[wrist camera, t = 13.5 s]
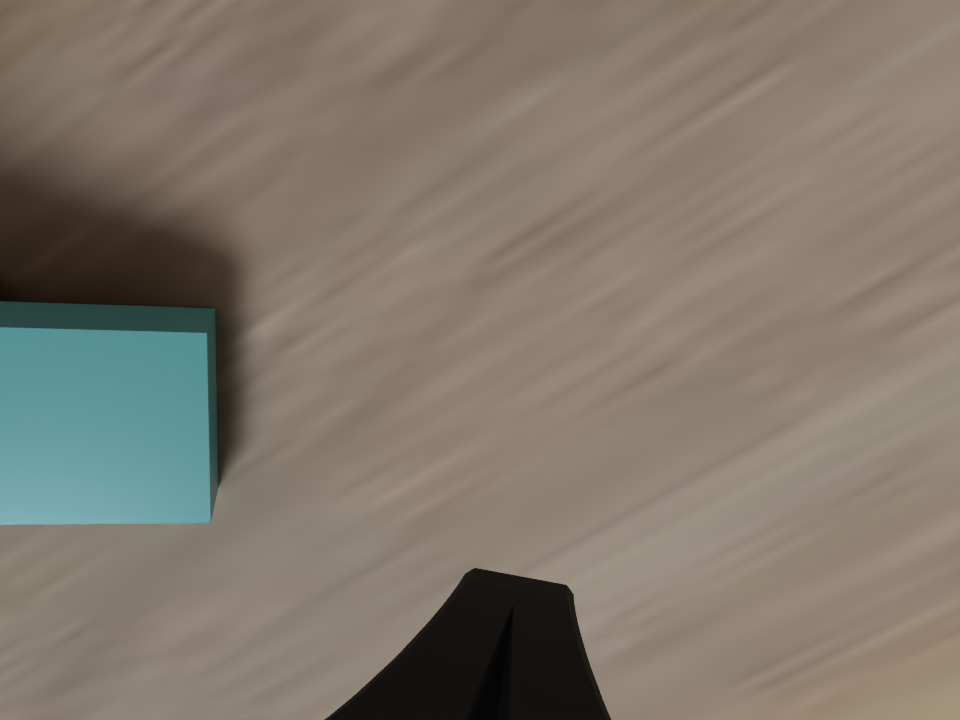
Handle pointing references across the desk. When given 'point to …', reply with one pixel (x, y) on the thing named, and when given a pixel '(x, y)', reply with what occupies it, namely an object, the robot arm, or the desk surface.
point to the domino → (107, 414)
